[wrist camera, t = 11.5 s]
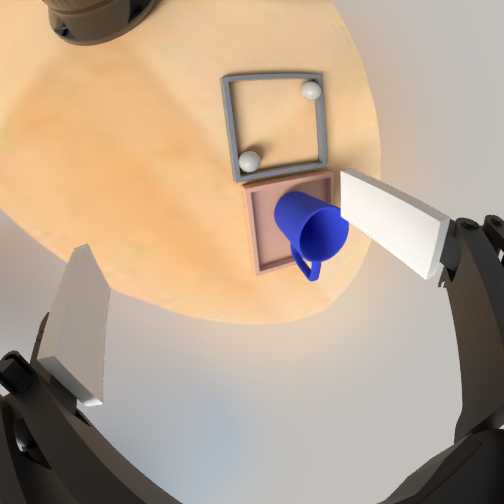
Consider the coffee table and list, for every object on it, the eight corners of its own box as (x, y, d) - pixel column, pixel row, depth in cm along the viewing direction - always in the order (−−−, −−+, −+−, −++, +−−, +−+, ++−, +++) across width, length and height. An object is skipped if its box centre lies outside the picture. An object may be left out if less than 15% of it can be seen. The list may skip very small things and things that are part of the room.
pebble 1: (234, 151, 36) (240, 154, 34) (254, 148, 37) (262, 150, 34) (237, 171, 38) (243, 176, 35) (256, 167, 38) (264, 172, 36)
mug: (265, 257, 46) (292, 291, 38) (267, 187, 40) (300, 208, 32) (308, 249, 48) (339, 279, 40) (314, 184, 42) (353, 203, 34)
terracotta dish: (241, 185, 39) (245, 189, 37) (327, 170, 42) (334, 172, 41) (252, 270, 47) (256, 276, 45) (326, 247, 50) (332, 252, 49)
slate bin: (220, 78, 31) (222, 77, 29) (316, 75, 34) (321, 74, 33) (233, 180, 38) (236, 182, 37) (322, 164, 42) (327, 166, 41)
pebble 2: (296, 82, 34) (306, 80, 31) (313, 82, 34) (324, 81, 32) (297, 100, 35) (308, 100, 33) (314, 100, 36) (325, 100, 34)
